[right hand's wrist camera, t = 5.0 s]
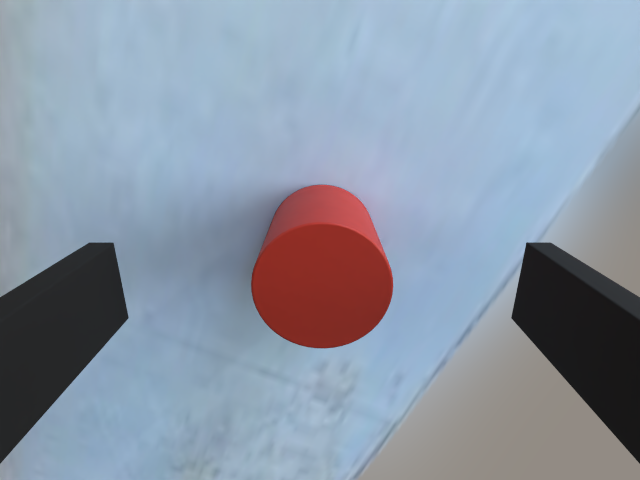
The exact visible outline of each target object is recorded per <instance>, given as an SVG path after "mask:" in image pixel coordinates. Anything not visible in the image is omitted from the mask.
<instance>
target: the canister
mask: <svg viewBox="0 0 640 480" xmlns="http://www.w3.org/2000/svg"><path fill="white" fill-rule="evenodd" d="M251 289H252V296H253V300H254V303H255V306H256V308H257V310H258V312H259V314H260V316H261V317H262V319H263V320H264V322H265V323H266V324H267V325H268V326H269V327H270V328H271V329H272V330H273V331H274V332H275V333H277V334H278V335H280V336H281V337H283V338H284V339H286V340H288V341H290V342H293V343H295V344H298V345H302V346H306V347H312V348H333V347H338V346H343V345H346V344H349V343H352V342H354V341H356V340H358V339H360V338H361V337H363V336H365V335H366V334H367V333H369V332H370V331H371V330H372V329H373V328H374V327H375V326H376V325H377V324H378V323H379V322H380V321H381V319H382V318H383V316H384V315H385V313H386V311H387V309H388V307H389V304H390V302H391V297H392V292H393V277H392V272H391V268H390V265H389V262H388V260H387V257H386V255H385V252H384V250H383V247H382V245H381V243H380V240H379V238H378V235H377V233H376V230H375V228H374V225H373V223H372V220H371V218H370V215H369V213H368V211H367V209H366V208H365V206H364V205H363V204H362V202H361V201H360V200H359V199H358V198H356V197H355V196H354V195H353V194H351V193H350V192H348V191H346V190H344V189H341V188H339V187H335V186H330V185H313V186H309V187H305V188H302V189H300V190H298V191H296V192H294V193H293V194H291V195H290V196H289V197H287V198H286V199H285V200H284V201H283V202H282V203H281V205H280V206H279V207H278V209H277V211H276V213H275V215H274V217H273V220H272V222H271V225H270V228H269V230H268V233H267V235H266V238H265V240H264V243H263V245H262V248H261V251H260V253H259V256H258V258H257V261H256V263H255V266H254V269H253V273H252V281H251Z"/></svg>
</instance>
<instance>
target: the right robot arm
mask: <svg viewBox="0 0 640 480" xmlns="http://www.w3.org/2000/svg"><path fill="white" fill-rule="evenodd" d="M127 319H128V313H127V308H126V303H125V298H124V293H123V288H122V283H121V278H120V273H119V268H118V263H117V258H116V253H115V248H114V243H88V244H86V245H85V246H83V247H82V248H80V249H78V250H77V251H75V252H73V253H72V254H70V255H69V256H67V257H65V258H64V259H62V260H60V261H59V262H57V263H56V264H54V265H52V266H51V267H49V268H47V269H46V270H44V271H42V272H41V273H39V274H38V275H36V276H34V277H33V278H31V279H29V280H28V281H26V282H25V283H23V284H21V285H20V286H18V287H16V288H15V289H13V290H12V291H10V292H8V293H7V294H5V295H3V296H2V297H0V463H1V462H2V461H3V460H4V459H5V458H6V456H7V455H8V454H9V453H10V452H11V451H12V450H13V448H14V447H15V446H16V445H17V444H18V443H19V442H20V441H21V439H22V438H23V437H24V436H25V435H26V434H27V433H28V431H29V430H30V429H31V428H32V427H33V426H34V425H35V424H36V422H37V421H38V420H39V419H40V418H41V417H42V416H43V414H44V413H45V412H46V411H47V410H48V409H49V408H50V407H51V405H52V404H53V403H54V402H55V401H56V400H57V399H58V397H59V396H60V395H61V394H62V393H63V392H64V391H65V390H66V388H67V387H68V386H69V385H70V384H71V383H72V382H73V380H74V379H75V378H76V377H77V376H78V375H79V374H80V373H81V371H82V370H83V369H84V368H85V367H86V366H87V365H88V363H89V362H90V361H91V360H92V359H93V358H94V357H95V355H96V354H97V353H98V352H99V351H100V350H101V349H102V348H103V346H104V345H105V344H106V343H107V342H108V341H109V340H110V338H111V337H112V336H113V335H114V334H115V333H116V332H117V331H118V329H119V328H120V327H121V326H122V325H123V324H124V323H125V321H126V320H127ZM512 319H513V320H514V321H515V323H516V324H517V325H518V326H519V327H520V328H521V329H522V331H523V332H524V333H525V334H526V335H527V336H528V337H529V338H530V340H531V341H532V342H533V343H534V344H535V345H536V346H537V348H538V349H539V350H540V351H541V352H542V353H543V354H544V355H545V357H546V358H547V359H548V360H549V361H550V362H551V363H552V365H553V366H554V367H555V368H556V369H557V370H558V371H559V373H560V374H561V375H562V376H563V377H564V378H565V379H566V380H567V382H568V383H569V384H570V385H571V386H572V387H573V388H574V389H575V391H576V392H577V393H578V394H579V395H580V396H581V397H582V399H583V400H584V401H585V402H586V403H587V404H588V405H589V407H590V408H591V409H592V410H593V411H594V412H595V413H596V414H597V416H598V417H599V418H600V419H601V420H602V421H603V422H604V423H605V425H606V426H607V427H608V428H609V429H610V430H611V431H612V433H613V434H614V435H615V436H616V437H617V438H618V439H619V441H620V442H621V443H622V444H623V445H624V446H625V447H626V448H627V450H628V451H629V452H630V453H631V454H632V455H633V456H634V457H635V459H636V460H637V461H638V462H639V463H640V297H638V296H637V295H635V294H633V293H632V292H630V291H628V290H627V289H625V288H624V287H622V286H620V285H619V284H617V283H615V282H614V281H612V280H611V279H609V278H607V277H606V276H604V275H602V274H601V273H599V272H598V271H596V270H594V269H593V268H591V267H589V266H588V265H586V264H584V263H583V262H581V261H580V260H578V259H576V258H575V257H573V256H571V255H570V254H568V253H567V252H565V251H563V250H562V249H560V248H558V247H557V246H555V245H554V244H552V243H526V248H525V253H524V258H523V263H522V268H521V273H520V278H519V283H518V288H517V293H516V298H515V303H514V308H513V313H512Z"/></svg>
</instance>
